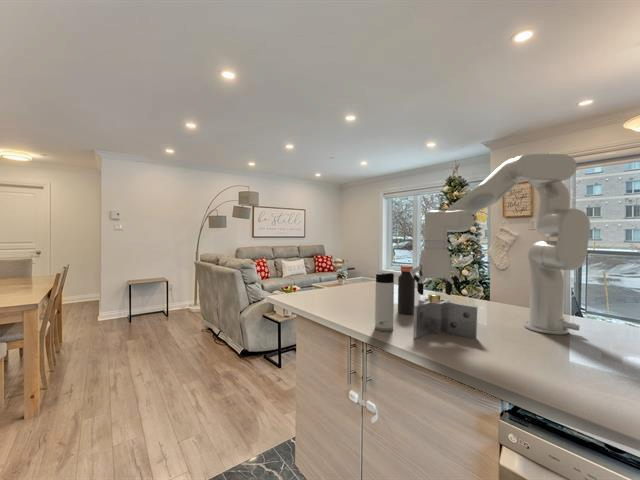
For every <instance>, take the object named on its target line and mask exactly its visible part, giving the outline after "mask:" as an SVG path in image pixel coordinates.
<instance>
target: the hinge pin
mask: <svg viewBox="0 0 640 480" xmlns="http://www.w3.org/2000/svg"><path fill="white" fill-rule="evenodd" d="M427 297H428V301H431V302H437V303H440V299H441V295H440V294H436V293H435V294H434V293H429V294H428V295H427Z"/></svg>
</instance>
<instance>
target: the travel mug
mask: <svg viewBox="0 0 640 480" xmlns="http://www.w3.org/2000/svg"><path fill="white" fill-rule="evenodd" d="M394 293H395V274H394V273H393V272H391V273H389V272H388V273H381V274H379V273H376V274H375V309H374V310H375V311H374V313H375V315H374V326H375V327H374V328H375V330H377V331H379V332H384V333H385V332H392V331H393V330H394V304H395V303H394V302H395V301H394V299H395V298H394V297H395V295H394Z"/></svg>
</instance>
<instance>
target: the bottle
mask: <svg viewBox="0 0 640 480" xmlns="http://www.w3.org/2000/svg"><path fill="white" fill-rule="evenodd" d="M412 269H414V267H413V265H408V264H407V265H405V264H404V265H400V272H401V274H400V275H399V276H398V277H397V278H398V280H397V312H398V313H399V314H402V315H406V316H407V315H414V306H415V292H416V291H415V289H416V280H415V279H414V278H413V277H412V275H411V273H410V270H412Z"/></svg>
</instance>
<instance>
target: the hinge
mask: <svg viewBox="0 0 640 480" xmlns="http://www.w3.org/2000/svg"><path fill="white" fill-rule="evenodd" d="M417 303H418V304H417V305H414V314H413V333H412V335H413V336H412V337H413V339H418V338H420V337H423V336H424V335H426V334H428V333H434V334H438V335H442V334H443V333H448V334H453V335H455V336H456V335H457V336H460V337H463V338H464V337H465V338H469V339H473V340H477V338H478V334H477V333H478V306H474V305H473V306H472V305H467V304H461V303H456V302H451V300H450V299H443V298H440V303H437V302H431V301H428V296H426V297H424V298H420V299H418V302H417Z"/></svg>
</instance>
